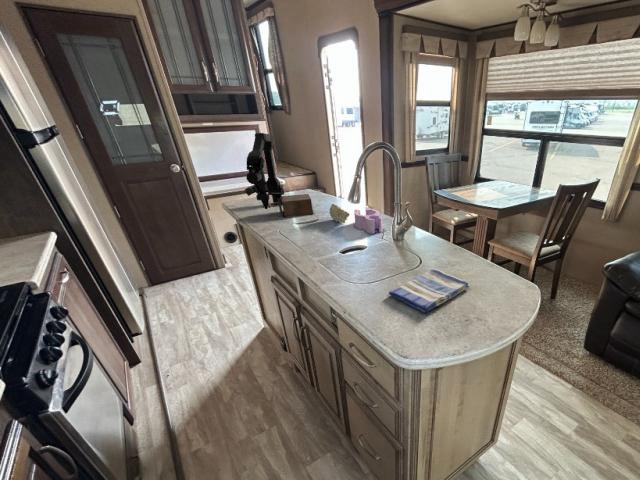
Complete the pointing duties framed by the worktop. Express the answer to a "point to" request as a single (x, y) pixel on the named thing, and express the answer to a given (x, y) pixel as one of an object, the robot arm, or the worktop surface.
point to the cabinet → (297, 205)
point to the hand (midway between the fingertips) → (266, 209)
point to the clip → (369, 220)
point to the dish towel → (429, 290)
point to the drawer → (276, 205)
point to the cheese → (338, 214)
